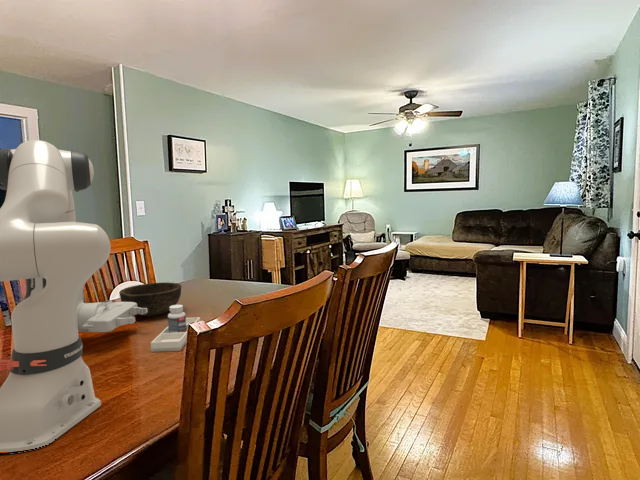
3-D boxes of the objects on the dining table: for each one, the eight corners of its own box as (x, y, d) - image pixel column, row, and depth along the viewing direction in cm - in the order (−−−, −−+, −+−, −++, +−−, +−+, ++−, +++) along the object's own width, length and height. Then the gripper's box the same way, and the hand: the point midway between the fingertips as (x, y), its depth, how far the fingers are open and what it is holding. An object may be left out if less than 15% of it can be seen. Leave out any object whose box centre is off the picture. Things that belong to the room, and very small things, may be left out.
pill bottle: (180, 337, 124) (179, 308, 123) (165, 336, 125) (163, 308, 124) (189, 331, 129) (188, 304, 128) (175, 330, 130) (173, 303, 129)
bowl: (184, 318, 148) (182, 291, 147) (118, 326, 140) (116, 298, 139) (181, 304, 168) (180, 280, 167) (123, 310, 160) (121, 286, 159)
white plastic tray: (180, 350, 116) (179, 341, 115) (151, 352, 115) (150, 342, 115) (200, 325, 139) (200, 317, 139) (176, 326, 139) (176, 318, 138)
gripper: (75, 317, 115) (125, 315, 115) (109, 299, 135) (151, 297, 136) (77, 338, 116) (127, 336, 116) (111, 317, 136) (153, 315, 136)
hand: (140, 315), depth 126 cm, fingers open, 8 cm apart
